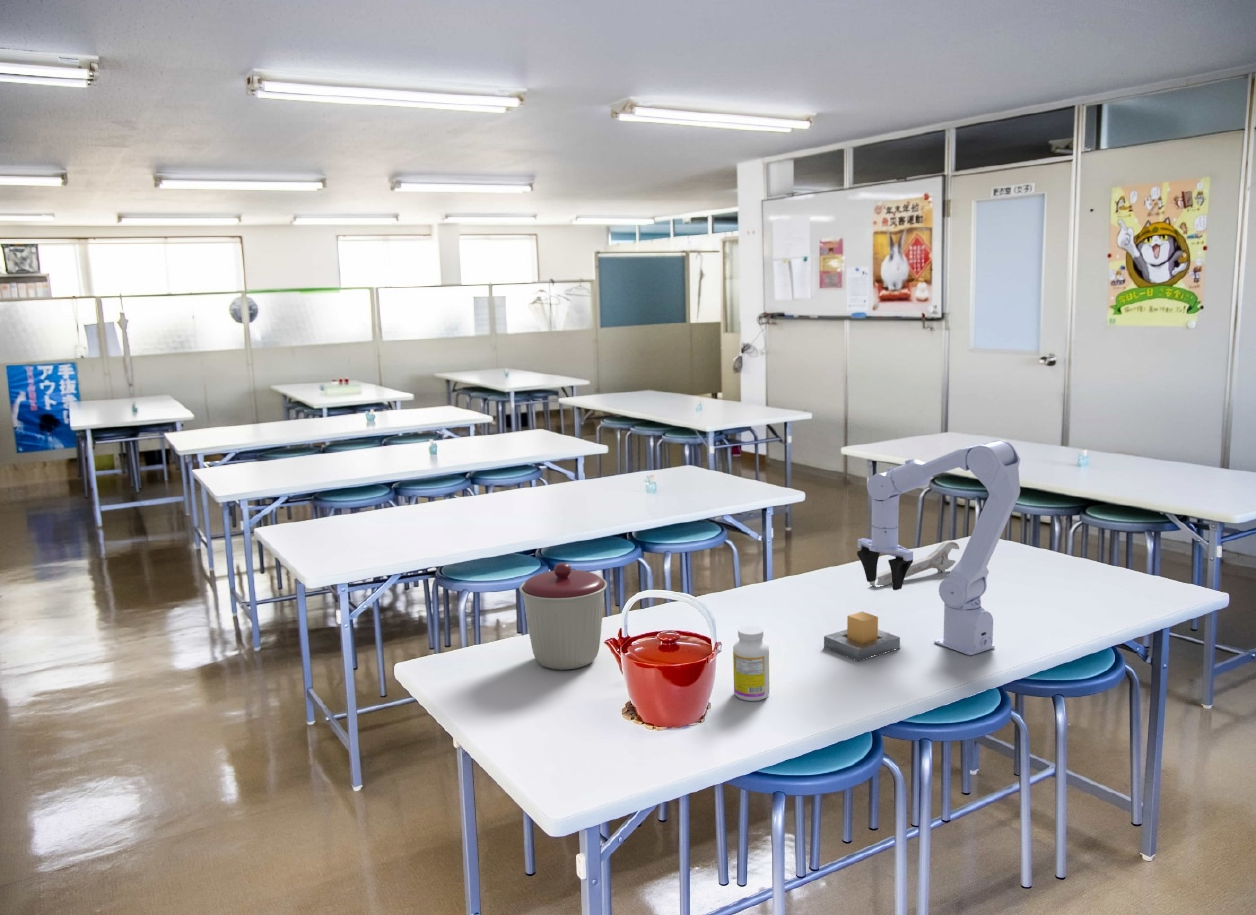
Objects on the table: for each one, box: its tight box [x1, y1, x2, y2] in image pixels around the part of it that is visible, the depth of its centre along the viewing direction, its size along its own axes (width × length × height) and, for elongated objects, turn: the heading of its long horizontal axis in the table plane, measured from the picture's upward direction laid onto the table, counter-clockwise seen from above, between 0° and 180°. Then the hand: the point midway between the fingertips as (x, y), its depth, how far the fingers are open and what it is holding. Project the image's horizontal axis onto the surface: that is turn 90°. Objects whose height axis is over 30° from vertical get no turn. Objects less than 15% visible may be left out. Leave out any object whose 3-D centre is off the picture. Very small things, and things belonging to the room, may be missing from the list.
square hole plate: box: [823, 629, 901, 662], centre depth 201 cm, size 10×12×2 cm
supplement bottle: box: [732, 625, 770, 702], centre depth 179 cm, size 7×7×13 cm
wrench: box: [869, 540, 960, 588], centre depth 249 cm, size 8×2×30 cm
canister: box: [518, 562, 608, 671], centre depth 198 cm, size 18×18×21 cm
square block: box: [846, 611, 879, 644], centre depth 201 cm, size 4×4×7 cm
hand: (884, 585), depth 213 cm, fingers open, 7 cm apart
